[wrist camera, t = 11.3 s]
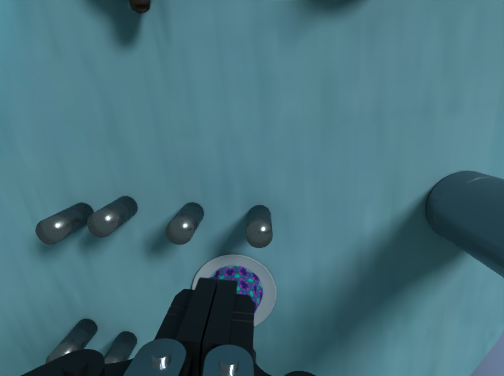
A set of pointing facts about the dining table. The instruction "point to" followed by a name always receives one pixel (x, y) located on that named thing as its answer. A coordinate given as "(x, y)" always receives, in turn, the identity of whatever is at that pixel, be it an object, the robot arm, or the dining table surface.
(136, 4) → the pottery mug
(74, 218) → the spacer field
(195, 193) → the dining table surface
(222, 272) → the pudding
